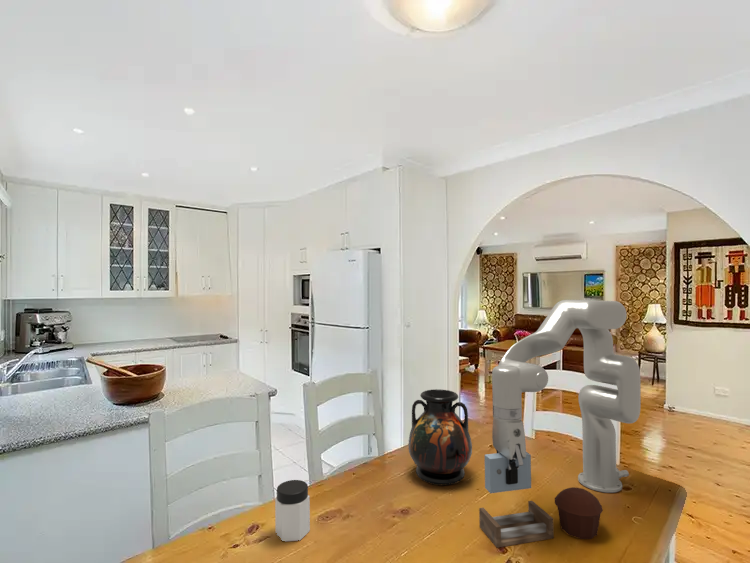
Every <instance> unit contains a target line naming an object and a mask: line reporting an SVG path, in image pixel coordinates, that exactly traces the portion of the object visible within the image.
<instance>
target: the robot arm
mask: <svg viewBox="0 0 750 563" xmlns="http://www.w3.org/2000/svg"><path fill="white" fill-rule="evenodd" d="M626 320H627V310H626V307H625V305H623V304H622V303H621V302H619V301H617V300H594V299H593V300H591V299H562V300H560V301H558V302H556V303H555V304H554V305H553V307H552V308H551V309H550V311H549V313H548V314H547V316H546V317H545V319H544V320H543V322H542V323H541V324H540V326H539V327H538V329H537V330H536V331H535V332H533V333H531V334H529V335H527V336H526V337H524V338H522V339H520V340H518V341H517V342H515V343H514V344H513V345H512V346H510V347H509V348H508V350H506V352H505V354H504V355H502V358H501V359H500V361H499V363H498V365H496V366H494V367H493V369H492V372H491V376H492V379H491V380H492V382H491V383H492V386H491V387H492V430H491V433H492V435H491V437H492V439H491V440H492V446H493V448H494V449H495V451H496V453H501V454H503V455H504V456H505V457H507V469H506V484H508V485H510V484H517V483H518V469H519V466H523V461H522V458H523V459H524V458H526V452H527V447H526V433H525V432H526V431H525V427H524V426H525V425H524V422H523V411H522V410H523V402H522V401H523V400H522V396H523V395H522V393H536V392H540V391H542V390H544V389H545V388H546V387H547V385H548V383H549V376H548V372H547V370H546V369H544V367H543V366H541V365H539V364H534V363H529V362H527V361H530V360H532V359H534V358H536V357H540V356H544V355H545V356H546V355H549V354H553V353H556V352H559V351H562V350H563V349H564V347H565V346H566V345H567V342H568V341H569V340H570V338H571V336H572V335H573V333H574V331H575V330H576V329H578V330H579V331H580V333H581V335H582V340H583V371H584V375H585V377H586V378H587V379H588V380H590V381H593V382H597V383H602V384H606V385H611V386H612V385H613V386H616V388H612V387H607V386H603V385H599V384H597V385H596V384H587V385H585V386H583V387H582V388H581V389H579V390H580V391H579V392H578V404H579V408H580V414H581V422H582V426H581V427H582V471H583V472H579V474H578V475H577V481H578V482H579V483H580V484H581V485H582V486H584V487H585V488H588V489H590V490H593V491H597V492H599V493H609V494H612V493H618V492H620V491H622V490H623V483H622V481H621V480H620V479H622V478H625V477H627V478H628V477H629V476H630V473H629V471H628V470H627V469H624V470H620V469H619V468H617V447H616V446H617V443H616V442H617V436H616V435H617V434H616V433H617V432H616V428H615V426H614V423H613V422H612V421H616V422H620V423H624V424H634V423H635V422H637V421H638V420H639V418H640V414H641V402H642V400H641V399H642V397H641V395H642V394H641V391H642V390H641V382H642V381H641V369H640V366H639V364H638V362H637V361H636V360H635V358H633V357H630V356H628V355H621V354H615V352H614V339H613V336H612V333H611V332H610V330H618V329H619V328H621V327H622V326H623V325H624V324H625V323H626ZM513 455H514V456H513ZM511 460H514V462H512V463H511Z"/></svg>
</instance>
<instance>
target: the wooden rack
mask: <svg viewBox="0 0 750 563" xmlns="http://www.w3.org/2000/svg"><path fill="white" fill-rule="evenodd" d="M527 504H528V505H527V506H528V507H527V508H528V511H525V512H518V513H517V512H516V513H511V514H504V515H497V516H492V515H491V514H490V513H489V512H488V511H487V509H486V508H485V507H479V508H478V511H479V514H478V515H479V518H478V520H479V528H480V530H481V531H483V533H484V535H486V537H487V538H488V539H489V540H490V541H491V542H492V544H493V545H494V546H495V548H503V547H510V546H513V545H514V546H515V545H521V544H527V543H532V542H539V541H544V540H551V539H554V518H553V517H552V516H551V515H550V514H548V512H546V511H545V510H544V509H543V508H542V507H540V506H539V505H538V504H537V503H536V502H535V501H533V500H528V502H527Z"/></svg>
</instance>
